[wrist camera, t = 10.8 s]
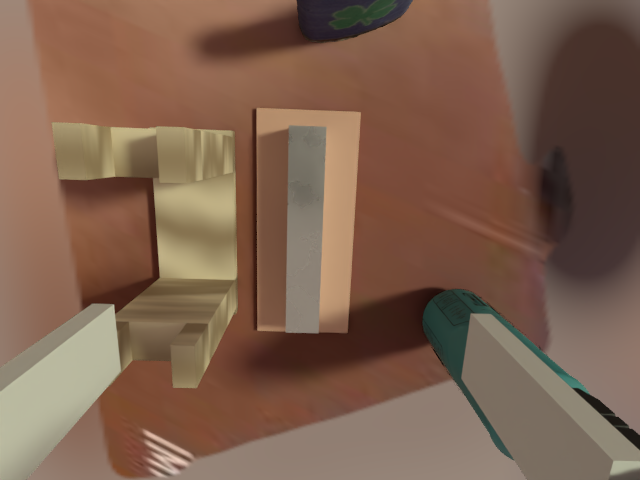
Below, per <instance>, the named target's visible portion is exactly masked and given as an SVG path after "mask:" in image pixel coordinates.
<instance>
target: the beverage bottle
mask: <svg viewBox="0 0 640 480" xmlns="http://www.w3.org/2000/svg"><path fill="white" fill-rule="evenodd" d="M477 295H478V294H477ZM480 298H481V297H479V296H478V297H477V296H476V295H475V294H473V293H472V291H471V292H469V290H468V291H465V290H464V289H462V290H460V289H452V290H447V291H444V292H442V293H440V294H438V295H436V296H435V297H434V298H433V299H432V300H431V301H430V302H429V303H428V304H427V306H426V308H425V310H424V313H423V319H422V320H423V329H424V333H425V335H426V336H427V338H428V340H429V342H430V343H431V344H432V345H430V346H433V347H434V348H433V350H434V349H435V350H436V351H435V350H434V352H435V354H436V355H437V354H438V355H439V356H438V355H437V357H438V358H439V357H440V358H441V359H440V358H439V359H440V361H441V360H442V361H443V363H444V364H443V363H442V361H441V363H442V365H445V367H446V368H447V369H448V371H449V372H450V373H449V372H448V371H447V373H449V375H450V374H451V375H450V376H452V377H453V378H452V379H453V380H455V382H456V383H457V384H458V386H459V387H460V389H461V390H462V392H463V393H464V395H465V396H466V398H467V400H468V401H469V403H470V404H471V406H472V407H473V409H474V410H475V412H476V413H477V415H478V417H479V418H480V420H481V421H482V423H483V424H484V426H485V428H486V429H487V431H488V432H489V434H490V436H491V439H492V440H493V442H494V444H495V445H496V447H497V448H498V449H499V450H500V451H501V452H502V453H504V455H506V456H507V457H509V458H511V459H512V460H514V459H513V457H512V456H511V454H510V453H509V451H508V450H507V448H506V447H505V445H504V444H503V442H502V440H501V439H500V437H499V436H498V434H497V433H496V431H495V430H494V428H493V427H492V425H491V424H490V422H489V420H488V419H487V417H486V416H485V414H484V413H483V411H482V410H481V408H480V407H479V405H478V404H477V402H476V400H475V399H474V397H473V396H472V394H471V393H470V391H469V390H468V388H467V387H466V385H465V384H464V382H463V380H462V379H461V377H462V370H463V363H464V356H465V349H466V343H467V336H468V329H469V322H470V315H471V313H472V314H492V315H493V316H494V317H495V318H496V319H497V320H498V321H499V322H500V323H501V324H502V325H504V326H505V327H506V328H507V329H508V330H509V331H510V332H511V333H512V334H513V335H514V336H516V337H517V338H518V339H519V340H520V341H521V342H522V343H523V344H524V345H525V346H526V347H528V348H529V349H530V350H531V351H532V352H533V353H534V354H535V355H536V356H537V357H538V358H539V359H541V360H542V361H543V362H544V363H545V364H546V365H547V366H548V367H549V368H550V369H551V370H553V371H554V372H555V373H556V374H557V375H558V376H559V377H560V378H561V379H562V380H563V381H565V382H566V383H567V384H568V385H569V386H570V387H571V388H579V389H581V390H583V391H584V392H586V393H588V391H587V390H586V388H585V387H584V386H583V385H582V384H581V383H580V382H579V381H577V380H576V379H575V378H573V377H572V376H570V375H569V374H567V373H566V372H565V371H564V370H563V369H562V368H560V367H559V366H558V365H557V364H556V363H555V362H553V361H552V360H551V359H550V358H549V357H548V356H546V355H545V354H544V353H543V352H542V351H541V350H539V349H538V348H537V347H536V346H535V345H534V344H533V343H532V342H531V341H530V340H529V339H527V338H526V337H525V336H524V335H523V334H521V333H520V332H519V331H520V330H519V331H518V329H516V328H514V326H512V325H511V324H510V323H508V321H506V320H507V319H506V320H505V319H504V317H503V318H502V317H501V316H500V315H499V314H498V313H497V312H496V311H495V310H494V309H495V308H494V307H493V308H494V309H493V308H492V307H491V306H490V307H489V305H487V304H486V303H485V302H484V301H482V300H481V299H480ZM487 303H488V302H487ZM488 304H489V303H488ZM499 313H500V312H499ZM423 329H422V330H423ZM522 333H523V332H522ZM525 335H526V334H525ZM425 338H426V337H425ZM539 348H541V347H539ZM436 352H437V353H436ZM447 369H446V370H447ZM588 394H589V393H588ZM514 461H515V460H514Z"/></svg>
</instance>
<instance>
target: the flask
mask: <svg viewBox="0 0 640 480" xmlns="http://www.w3.org/2000/svg"><path fill="white" fill-rule="evenodd" d="M412 1H413V0H297V10H298V20H299V26H300V29H301V31H302V34H303V36H304V37H305V39H306V40H309V41H311V42H321V43H323V42H329V41H332V42H333V41H334V42H335V41H337V40H346V39H349V38H352V37H357V36H358V35H360V34H362V33H367V32H369V31H372V30H375V29H377V28H379V27H383V26H385V25H387V24H389V23H392V22H393V21H395V20H396V19H398V18H400V17H401V16H402V15H403V14H404V13H405V12H406V10H407V9H408V8H409V5H410V4H411V2H412Z"/></svg>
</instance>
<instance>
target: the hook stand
mask: <svg viewBox="0 0 640 480" xmlns="http://www.w3.org/2000/svg"><path fill="white" fill-rule="evenodd" d="M52 129H53V137H54V144H55V152H56V160H57V168H58V175H59V179H68V180H92V179H100V178H108V177H140V178H153V186H154V200H155V215H156V229H157V243H158V257H159V272H160V278H159V279H158V280H157V281H155V282H154V283H153V284H152V285H151V286H149V287H148V288H147V289H146V290H144V291H143V292H142V293H141V294H140V295H138V296H137V297H136V298H135V299H133V300H132V301H131V302H130V303H129V304H127V305H126V306H125V307H124V308H122V309H121V310H120V311H119V312H118V313H116V314H115V320H116V329H117V339H118V348H119V357H120V367H121V372H120V373H119V374H118V375H117V376H116V378H117V377H118V376H119V375H120V374H121V373H122V372H123V370H124V369H125V368H126V367H127V366H128V365H129V363H130V362H131V361H132V360H149V361H171V364H172V379H173V388H197V386H198V384H199V382H200V380H201V378H202V376H203V374H204V372H205V370H206V368H207V366H208V364H209V362H210V360H211V358H212V356H213V354H214V352H215V350H216V348H217V346H218V344H219V342H220V340H221V338H222V336H223V334H224V332H225V330H226V328H227V326H228V324H229V322H230V320H231V318H232V316H233V314H236V312H237V310H238V297H237V240H236V183H235V131H225V130H199V129H189V128H184V127H159V126H156V128H149V129H143V128H117V127H105V126H97V125H89V124H81V123H56V122H52ZM116 378H115V379H114V380H113V381H112V382H111V383H110V384H109V386H110V385H111V384H112V383H113V382H114V381H115V380H116Z"/></svg>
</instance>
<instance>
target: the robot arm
mask: <svg viewBox="0 0 640 480" xmlns="http://www.w3.org/2000/svg"><path fill="white" fill-rule="evenodd" d="M120 372H121V367H120V357H119V348H118V339H117V329H116V320H115V310H114V304H91V305H90V306H88V307H87V308H85V309H84V310H83V311H81V312H80V313H78V314H77V315H75V316H74V317H72V318H71V319H70V320H68V321H67V322H65V323H64V324H62V325H61V326H59V327H58V328H57V329H55V330H54V331H52V332H51V333H49V334H48V335H46V336H45V337H44V338H42V339H41V340H39V341H38V342H36V343H35V344H34V345H32V346H31V347H29V348H28V349H26V350H25V351H23V352H22V353H21V354H19V355H18V356H16V357H15V358H13V359H12V360H11V361H9V362H8V363H6V364H5V365H3V366H2V367H0V480H27V479H28V477H29V476H30V475H31V474H32V473H33V472H34V471H35V469H36V468H37V467H38V466H39V465H40V464H41V462H42V461H43V460H44V459H45V458H46V457H47V456H48V454H49V453H50V452H51V451H52V450H53V449H54V448H55V446H56V445H57V444H58V443H59V442H60V441H61V440H62V438H63V437H64V436H65V435H66V434H67V433H68V432H69V430H70V429H71V428H72V427H73V426H74V425H75V424H76V422H77V421H78V420H79V419H80V418H81V417H82V415H83V414H84V413H85V412H86V411H87V410H88V408H89V407H90V406H91V405H92V404H93V403H94V402H95V401H96V399H97V398H98V397H99V396H100V395H101V394H102V393H103V391H104V390H105V389H106V388H107V387H108V386H109V384H110V383H111V382H112V381H113V380H114V379H115V378H116V376H117V375H118V374H119V373H120ZM461 379H462V380H463V382H464V384H465V385H466V387H467V388H468V390H469V391H470V393H471V394H472V396H473V397H474V399H475V400H476V402H477V404H478V405H479V407H480V408H481V410H482V411H483V413H484V414H485V416H486V417H487V419H488V420H489V422H490V424H491V425H492V427H493V428H494V430H495V431H496V433H497V434H498V436H499V437H500V439H501V440H502V442H503V444H504V445H505V447H506V448H507V450H508V451H509V453H510V454H511V456H512V457H513V459H514V460H515V462H516V463H517V465H518V467H519V468H520V470H521V471H522V473H523V474H524V476H525V477H526V479H527V480H640V435H638V434H637V433H636V432H635V431H634V430H633V429H629V426H628V425H627V424H626V423H625V422H624V421H623V420H621V419H620V418H619V417H616V416H615V414H614V413H613V412H612V411H611V410H610V409H609V408H608V407H606V406H605V405H604V404H603V403H602V402H601V401H600V400H598V399H596V398H595V397H593V396H591V395H590V394H588V393H586V392H584V391H583V390H581V389H579V388H571V387H570V386H569V385H568V384H567V383H566V382H565V381H563V380H562V379H561V378H560V377H559V376H558V375H557V374H556V373H555V372H554V371H553V370H551V369H550V368H549V367H548V366H547V365H546V364H545V363H544V362H543V361H542V360H541V359H539V358H538V357H537V356H536V355H535V354H534V353H533V352H532V351H531V350H530V349H529V348H528V347H526V346H525V345H524V344H523V343H522V342H521V341H520V340H519V339H518V338H517V337H516V336H514V335H513V334H512V333H511V332H510V331H509V330H508V329H507V328H506V327H505V326H504V325H502V324H501V323H500V322H499V321H498V320H497V319H496V318H495V317H494V316H493V315H492V314H472V313H471V315H470V322H469V329H468V336H467V343H466V349H465V356H464V363H463V370H462V377H461Z"/></svg>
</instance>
